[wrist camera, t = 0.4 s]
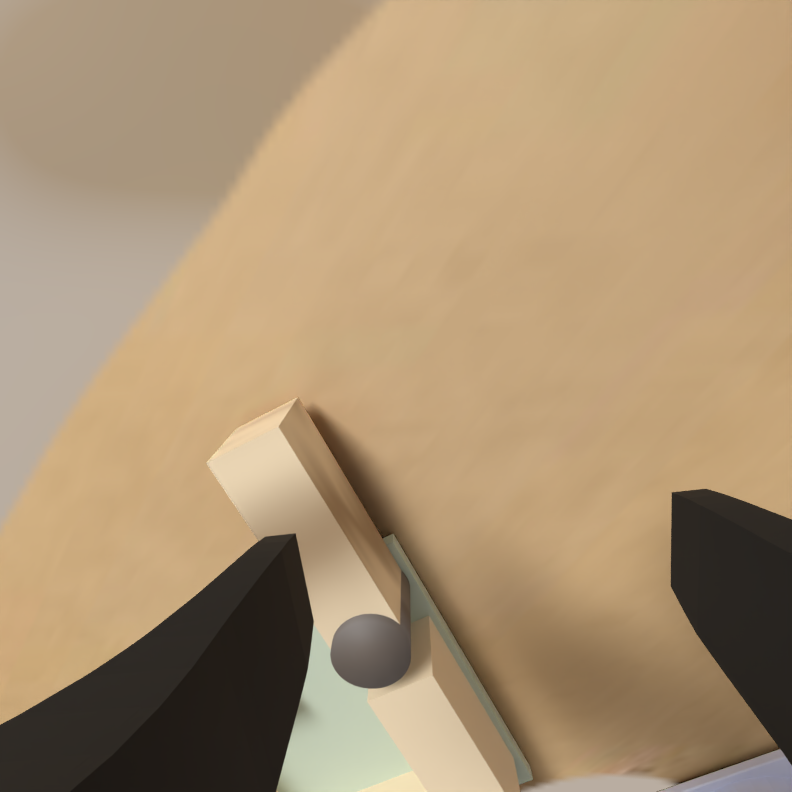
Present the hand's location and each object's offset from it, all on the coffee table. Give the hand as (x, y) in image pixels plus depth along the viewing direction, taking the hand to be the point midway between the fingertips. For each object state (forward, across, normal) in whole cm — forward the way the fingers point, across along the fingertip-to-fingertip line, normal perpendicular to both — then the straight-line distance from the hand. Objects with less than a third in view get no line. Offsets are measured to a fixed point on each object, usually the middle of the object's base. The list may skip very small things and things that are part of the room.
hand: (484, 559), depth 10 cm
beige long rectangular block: (+9, +5, +3) cm, 10 cm away
